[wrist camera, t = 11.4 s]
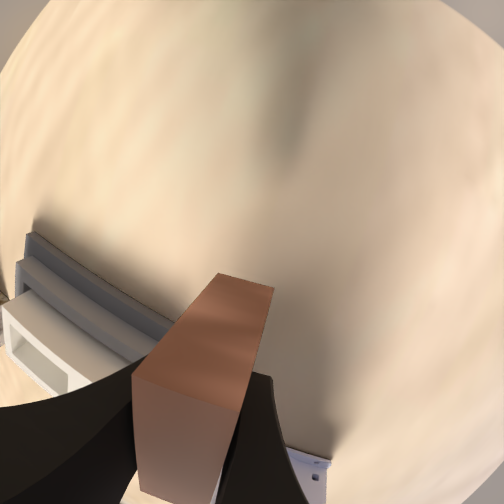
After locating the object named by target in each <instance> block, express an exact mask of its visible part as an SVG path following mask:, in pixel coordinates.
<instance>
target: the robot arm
mask: <svg viewBox="0 0 504 504" xmlns="http://www.w3.org/2000/svg"><path fill="white" fill-rule="evenodd" d="M147 356H148V354H147V355H146V356H144V357H142V358H141V359H139V360H137V361H135V362H134V363H132V364H130V365H128V366H126V367H124V368H122V369H121V370H119V371H117V372H115V373H113V374H111V375H109V376H107V377H105V378H103V379H100V380H98V381H96V382H94V383H91V384H89V385H87V386H84V387H82V388H79V389H77V390H74V391H71V392H69V393H66V394H63V395H59V396H56V397H53V398H49V399H46V400H41V401H37V402H32V403H27V404H22V405H16V406H9V407H0V504H119V503H120V501H121V499H122V497H123V495H124V493H125V491H126V489H127V486H128V484H129V482H130V481H131V479H132V477H133V476H134V474H135V472H136V471H137V460H136V450H135V439H134V425H133V407H132V373H133V372H134V371H135V370H136V369H137V367H138V366H139V365H140V364H141V363H142V361H143V360H144V359H145V358H146V357H147ZM330 466H331V461H330V460H327V459H324V458H320V457H317V456H313V455H310V454H307V453H303V452H300V451H297V450H294V449H291V448H288V447H286V446H285V443H284V440H283V436H282V432H281V428H280V425H279V421H278V416H277V411H276V406H275V400H274V392H273V380H272V378H271V377H270V376H267V375H263V374H259V373H256V372H251V376H250V379H249V383H248V386H247V390H246V393H245V397H244V400H243V403H242V407H241V410H240V414H239V417H238V420H237V423H236V426H235V430H234V433H233V436H232V439H231V442H230V445H229V448H228V451H227V455H226V458H225V461H224V464H223V467H222V470H221V473H220V476H219V479H218V482H217V485H216V488H215V491H214V493H213V496H212V499H211V502H210V504H326V479H327V469H328V468H329V467H330Z"/></svg>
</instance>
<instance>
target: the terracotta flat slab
mask: <svg viewBox="0 0 504 504" xmlns="http://www.w3.org/2000/svg"><path fill="white" fill-rule="evenodd" d="M273 291H274V288H272V287H269V286H265V285H261V284H257V283H254V282H250V281H246V280H242V279H239V278H235V277H231V276H228V275H224V274H220V273H218V274H217V275H216V276H215V277H214V278H213V279H212V281H211V282H210V283H209V284H208V285H207V286H206V288H205V289H204V290H203V291H202V292H201V293H200V295H199V296H198V297H197V298H196V299H195V300H194V302H193V303H192V304H191V305H190V306H189V307H188V309H187V310H186V311H185V312H184V313H183V314H182V316H181V317H180V318H179V319H178V320H177V321H176V323H175V324H174V325H173V326H172V327H171V328H170V330H169V331H168V332H167V333H166V334H165V335H164V337H163V338H162V339H161V340H160V341H159V343H158V344H157V345H156V346H155V347H154V348H153V350H152V351H151V352H150V353H149V354H148V356H147V357H146V358H145V359H144V360H143V361H142V363H141V364H140V365H139V366H138V367H137V369H136V370H135V371H134V372H133V373H132V407H133V425H134V439H135V450H136V460H137V469H138V477H139V485H140V491H142V492H145V493H147V494H150V495H152V496H155V497H157V498H160V499H162V500H165V501H168V502H170V503H173V504H210V502H211V499H212V496H213V493H214V491H215V488H216V485H217V482H218V479H219V476H220V473H221V470H222V467H223V464H224V461H225V458H226V455H227V451H228V448H229V445H230V442H231V439H232V436H233V433H234V430H235V426H236V423H237V420H238V417H239V414H240V410H241V407H242V403H243V400H244V397H245V393H246V390H247V386H248V383H249V379H250V376H251V372H252V369H253V365H254V362H255V358H256V354H257V351H258V347H259V344H260V340H261V336H262V333H263V329H264V325H265V322H266V318H267V314H268V310H269V307H270V303H271V299H272V295H273Z"/></svg>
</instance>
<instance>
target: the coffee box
mask: <svg viewBox="0 0 504 504" xmlns="http://www.w3.org/2000/svg"><path fill="white" fill-rule="evenodd" d="M8 301H9V299H8V298H7V297H6V296H5V295H4V294H3V293H2V292H1V291H0V347H1V346H2V345H3V344H5V341H4V332H3V320H2V305H3V304H5V303H6V302H8Z"/></svg>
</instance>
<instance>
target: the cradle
mask: <svg viewBox="0 0 504 504" xmlns="http://www.w3.org/2000/svg"><path fill="white" fill-rule="evenodd" d="M30 289H32V290H33V291H35V292H36V293H37V294H38V295H39V296H40V297H42V298H43V299H44V300H45V301H46V302H48V303H49V304H50V305H51V306H53V307H54V308H55V309H56V310H58V311H59V312H60V313H62V314H63V315H64V316H65V317H67V318H68V319H69V320H71V321H72V322H73V323H75V324H76V325H77V326H79V327H80V328H81V329H83V330H84V331H86V332H87V333H88V334H90V335H91V336H93V337H94V338H96V339H97V340H98V341H100V342H101V343H103V344H104V345H106V346H107V347H109V348H110V349H112V350H113V351H115V352H116V353H118V354H120V355H121V356H123V357H124V358H126V359H127V360H129V361H131V362H132V363H134V362H135V361H137V360H139V359H141V358H142V357H144V356H146V355H147V354H149V353H150V352H151V351H152V350H153V348H154V347H155V346H156V345H157V344H158V343H159V341H160V340H161V339H162V338H163V337H164V335H165V334H166V333H167V332H168V331H169V330H170V328H171V327H172V326H173V325H174V324H175V323H174V322H172V321H170V320H169V319H167V318H165V317H163V316H162V315H160V314H158V313H156V312H155V311H153V310H151V309H149V308H148V307H146V306H144V305H143V304H141V303H139V302H138V301H136V300H134V299H133V298H131V297H129V296H128V295H126V294H125V293H123V292H121V291H120V290H118V289H117V288H115V287H113V286H112V285H110V284H109V283H107V282H106V281H104V280H103V279H101V278H99V277H98V276H96V275H95V274H93V273H92V272H90V271H89V270H87V269H86V268H84V267H83V266H81V265H80V264H79V263H77V262H76V261H74V260H73V259H71V258H70V257H69V256H67V255H66V254H64V253H63V252H61V251H60V250H59V249H57V248H56V247H55V246H53V245H52V244H50V243H49V242H48V241H46V240H45V239H44V238H42V237H41V236H40V235H38V234H37V233H36V232H31V233H28V234H26V241H25V251H24V259H22V260H20V261H17V262H16V272H15V297H17V296H19V295H21V294H23V293H25V292H27V291H29V290H30Z"/></svg>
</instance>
